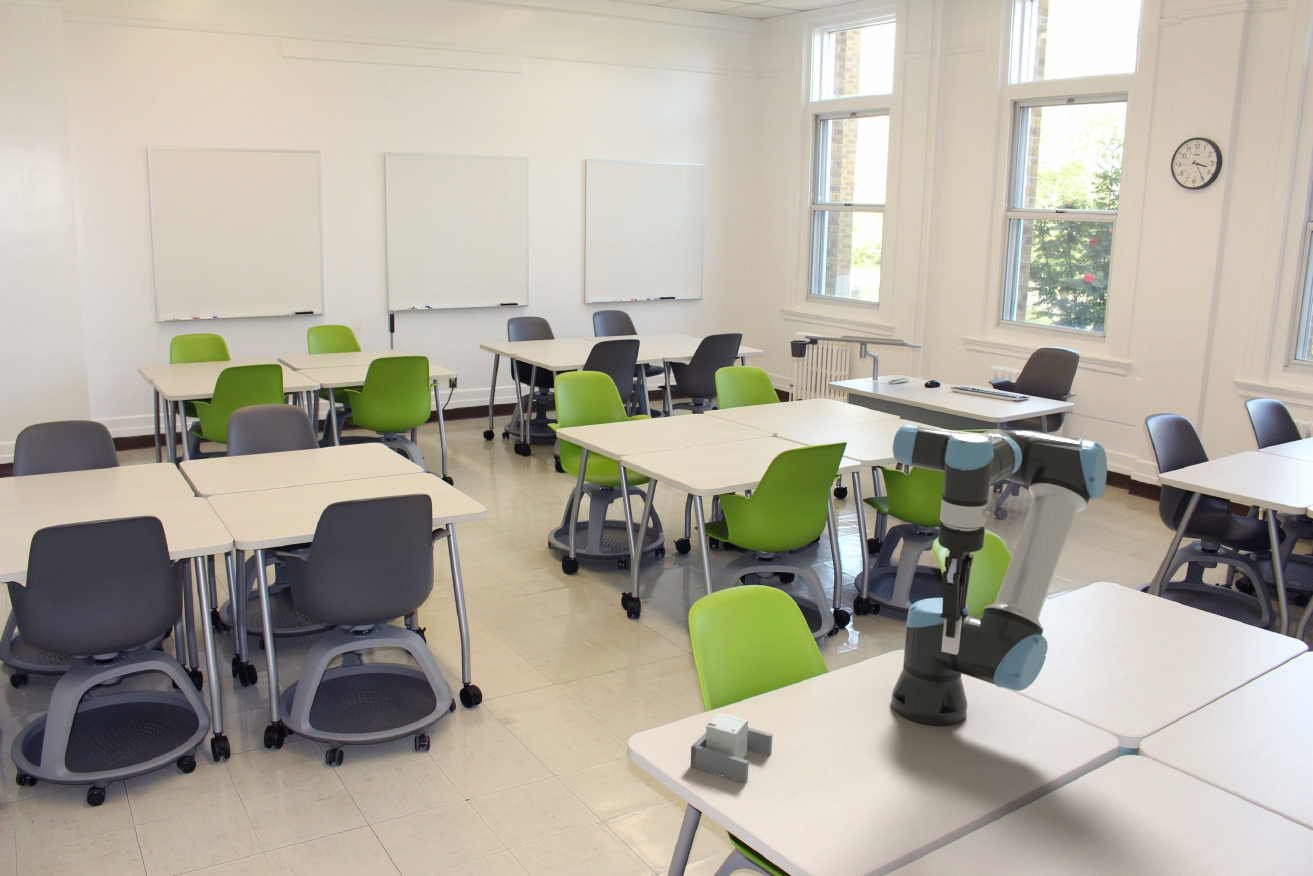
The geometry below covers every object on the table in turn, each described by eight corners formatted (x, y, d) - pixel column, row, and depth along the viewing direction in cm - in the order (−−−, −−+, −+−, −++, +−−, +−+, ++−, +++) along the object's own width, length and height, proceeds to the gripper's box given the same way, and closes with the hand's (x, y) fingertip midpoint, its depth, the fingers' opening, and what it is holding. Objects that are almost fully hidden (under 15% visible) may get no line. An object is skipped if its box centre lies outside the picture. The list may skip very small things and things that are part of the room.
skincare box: (747, 755, 189) (749, 719, 187) (734, 770, 184) (736, 734, 182) (717, 747, 192) (719, 711, 190) (704, 761, 187) (705, 725, 185)
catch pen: (718, 737, 195) (719, 719, 194) (771, 753, 190) (772, 734, 189) (690, 766, 185) (691, 746, 184) (745, 783, 180) (746, 763, 179)
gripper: (976, 538, 166) (963, 670, 171) (992, 518, 177) (979, 643, 183) (931, 530, 170) (919, 660, 175) (949, 511, 181) (937, 634, 186)
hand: (949, 651), depth 179 cm, fingers closed
